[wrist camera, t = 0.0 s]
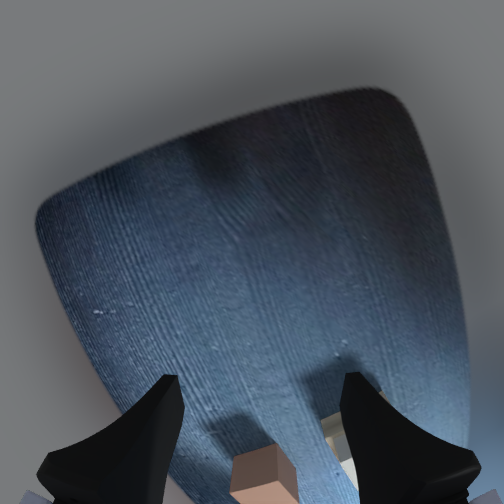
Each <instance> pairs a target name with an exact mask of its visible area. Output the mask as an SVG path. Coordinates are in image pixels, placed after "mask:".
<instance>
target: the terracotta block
mask: <svg viewBox="0 0 504 504" xmlns="http://www.w3.org/2000/svg"><path fill="white" fill-rule="evenodd" d="M229 493H230V494H231V495H232V496H233V497H234V498H235V499H236V500H237V501H238V502H239V503H240V504H299V495H298V485H297V475H296V468H295V467H294V466H293V464H292V463H291V462H290V460H289V459H288V458H287V456H286V455H285V454H284V452H283V451H282V449H281V448H280V447H279V445H278V444H277V443H275V444H272V445H269V446H266V447H263V448H260V449H257V450H254V451H251V452H247V453H244V454H240V455H237V456H234V460H233V468H232V475H231V483H230V491H229Z"/></svg>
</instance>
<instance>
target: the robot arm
mask: <svg viewBox="0 0 504 504" xmlns="http://www.w3.org/2000/svg"><path fill="white" fill-rule="evenodd" d="M184 409H185V406H184V402H183V398H182V393H181V389H180V385H179V380H178V376H177V375H167V374H164V375H163V376H162V377H161V378H160V379H159V380H158V381H157V382H156V383H155V384H154V385H153V386H152V388H151V389H150V390H149V391H148V392H147V393H146V394H145V395H144V396H143V397H142V398H141V399H140V400H139V401H138V402H137V403H136V404H135V405H134V406H132V407H131V408H130V409H129V410H128V411H127V412H126V413H124V414H123V415H122V416H121V417H120V418H118V419H117V420H116V421H115V422H113V423H112V424H110V425H109V426H107V427H106V428H104V429H103V430H101V431H100V432H98V433H96V434H94V435H92V436H90V437H89V438H87V439H85V440H83V441H80V442H78V443H76V444H73V445H71V446H68V447H66V448H63V449H60V450H56V451H53V452H50V453H48V455H47V456H46V458H45V459H44V461H43V463H42V464H41V466H40V468H39V470H38V472H37V474H36V475H37V478H38V480H39V481H40V483H41V484H42V485H43V486H44V487H45V488H46V489H47V490H48V491H49V492H50V494H51V495H53V496H54V498H55V500H54V502H53V503H52V502H50V501H49V500H47V499H45V498H43V497H41V496H39V495H37V494H35V493H33V492H31V491H29V490H26V492H25V494H24V496H23V498H22V500H21V502H20V504H162V503H163V496H164V489H165V483H166V478H167V472H168V468H169V465H170V461H171V458H172V455H173V452H174V449H175V446H176V443H177V439H178V436H179V433H180V430H181V427H182V421H183V415H184ZM340 412H341V419H342V425H343V428H344V432H345V435H346V438H347V442H348V445H349V448H350V452H351V455H352V458H353V462H354V466H355V470H356V476H357V482H358V489H359V498H360V504H502V502H501V500H500V498H499V495H498V493H497V491H496V489H493V490H491V491H489V492H487V493H485V494H483V495H481V496H479V497H477V498H475V499H473V500H472V501H470V502H469V503H468V501H467V497H468V496H469V493H468V490H467V488H468V487H469V486H470V484H471V483H472V482H473V481H474V480H475V479H476V477H477V476H478V475H479V473H480V471H481V465H480V463H479V461H478V459H477V458H476V456H475V454H474V452H473V451H471V450H468V449H465V448H462V447H459V446H456V445H453V444H451V443H448V442H446V441H444V440H441V439H439V438H437V437H435V436H433V435H432V434H430V433H428V432H426V431H425V430H423V429H421V428H420V427H418V426H417V425H415V424H414V423H412V422H411V421H410V420H408V419H407V418H405V417H404V416H403V415H402V414H401V413H399V412H398V411H397V410H396V409H395V408H394V407H393V406H391V405H390V404H389V403H388V402H387V401H386V400H385V399H384V398H383V397H382V396H381V395H380V394H379V393H378V392H377V391H376V390H375V388H374V387H373V386H372V385H371V384H370V383H369V382H368V381H367V380H366V379H365V377H364V376H363V375H362V374H361V373H360V372H353V373H346V375H345V380H344V386H343V391H342V396H341V401H340Z"/></svg>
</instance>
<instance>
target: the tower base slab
mask: <svg viewBox="0 0 504 504" xmlns="http://www.w3.org/2000/svg"><path fill="white" fill-rule="evenodd" d="M378 393H379V394H380V395H381V396H382V397H383V398H384V399H385V400H386V401H387V402H388V403H389V404H390V402H389V401H388V399H387V397H386V396H385V394H384V393H383V391H380V392H378ZM390 405H391V404H390ZM321 424H322V428H323V432H324V436H325V439H326V441H327V443H328V444H329V446H330V448H331V449H332V451H333V453H334V454H335V456H336V458H337V459H338V461H339V458H338V455H337V451H336V448H335V444H334V441H333V439H334V438H336V437H339V436H341V435H343V434H345V432H344V428H343V425H342V419H341V412H338V413H335V414H333V415H331V416H329V417H326V418H324V419H322V420H321ZM339 463H340V462H339ZM342 468H343V467H342ZM344 471H345V470H344ZM345 473H346V472H345ZM346 474H347V473H346Z"/></svg>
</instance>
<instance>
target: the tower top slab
mask: <svg viewBox="0 0 504 504" xmlns="http://www.w3.org/2000/svg"><path fill="white" fill-rule="evenodd" d="M333 441H334V444H335V448H336V451H337V455H338V458H339V462H340V464H341V466H342V467H343V469H344V470H345V472H346V473H347V475H348V477H349V478H350V480H351V481H352V483H353V484H354V486H355V487H356V489H357V490H358V491H359V489H358V482H357V476H356V470H355V466H354V462H353V458H352V455H351V452H350V448H349V445H348V442H347V438H346V435H345V434H343V435H341V436H339V437H336V438H334V439H333Z"/></svg>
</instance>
